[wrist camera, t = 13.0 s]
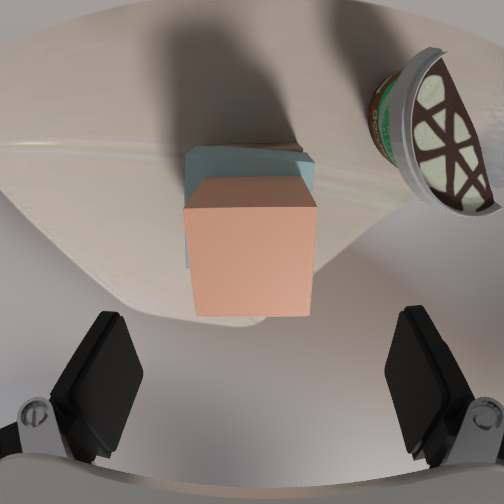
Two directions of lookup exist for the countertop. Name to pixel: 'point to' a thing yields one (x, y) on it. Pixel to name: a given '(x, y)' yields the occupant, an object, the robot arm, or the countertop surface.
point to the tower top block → (242, 166)
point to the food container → (431, 137)
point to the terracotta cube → (251, 246)
